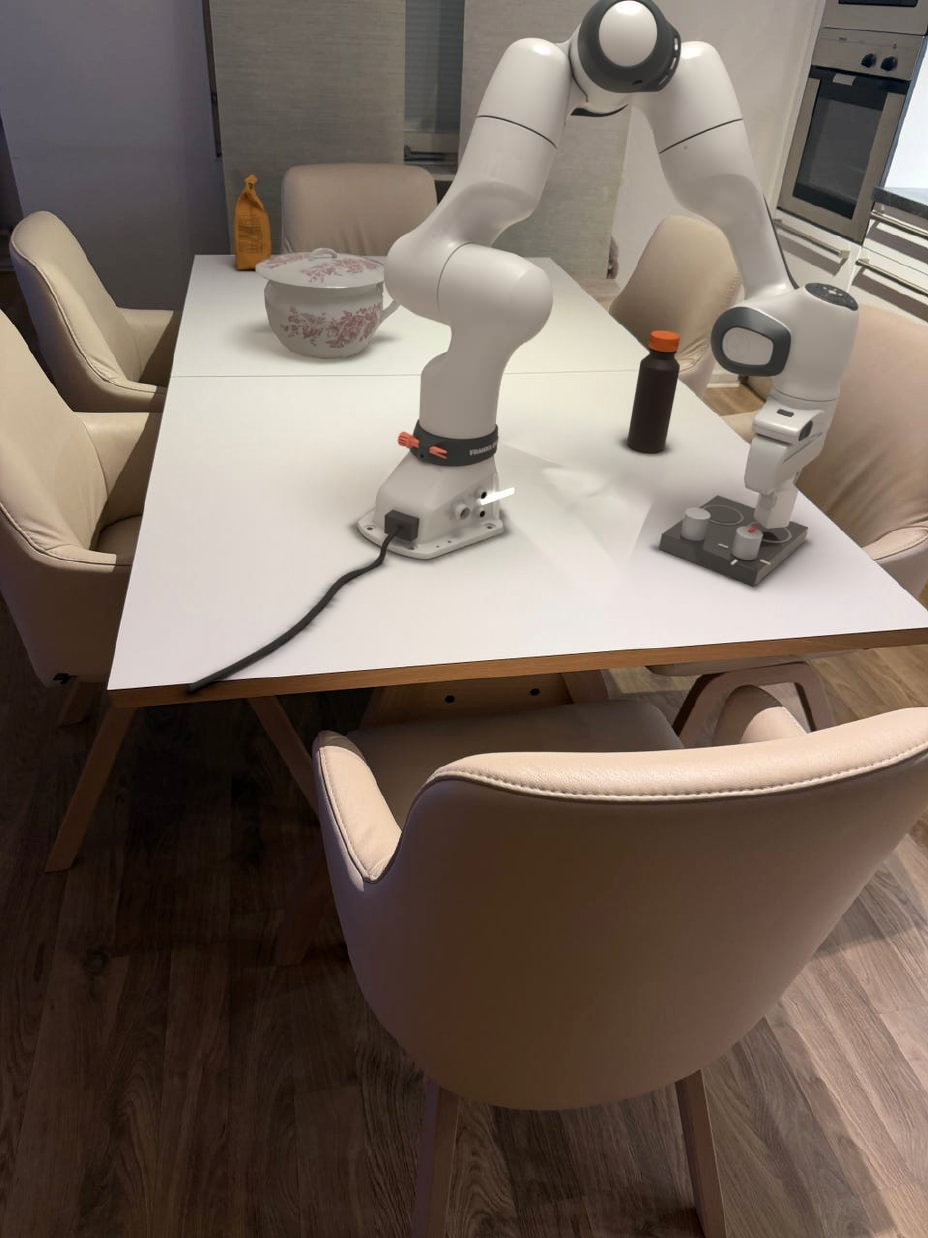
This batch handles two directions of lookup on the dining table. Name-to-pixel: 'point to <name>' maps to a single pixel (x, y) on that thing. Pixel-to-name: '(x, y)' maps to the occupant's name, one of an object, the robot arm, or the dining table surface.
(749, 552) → the hob knob
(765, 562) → the hob
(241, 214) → the coffee package
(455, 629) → the dining table surface
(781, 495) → the pepper shaker
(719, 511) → the hob zones
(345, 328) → the chamber pot
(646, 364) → the bottle
